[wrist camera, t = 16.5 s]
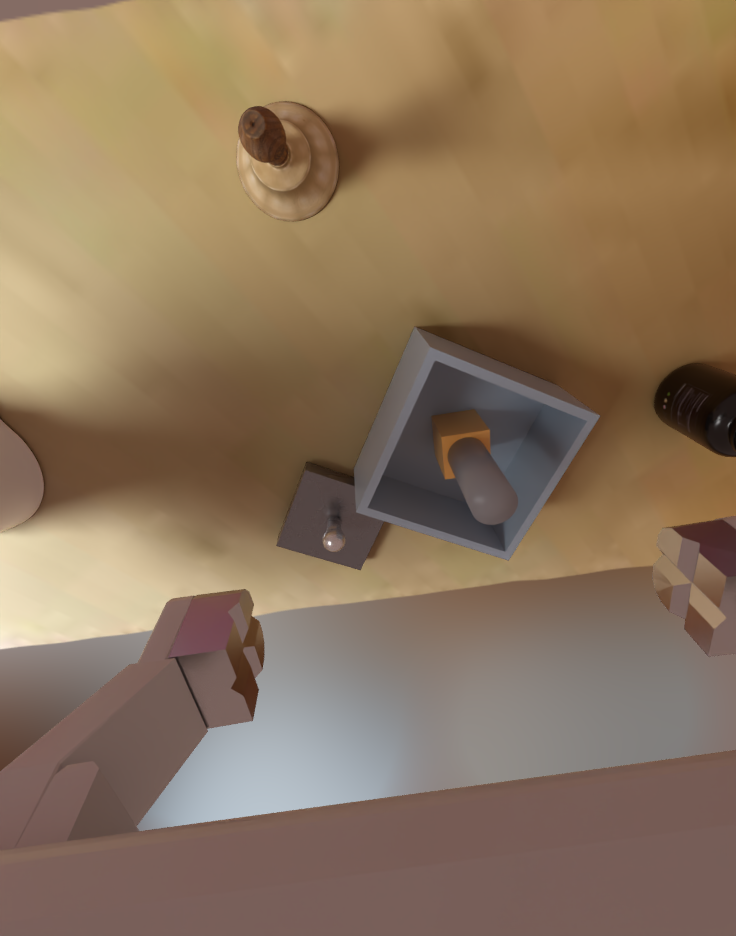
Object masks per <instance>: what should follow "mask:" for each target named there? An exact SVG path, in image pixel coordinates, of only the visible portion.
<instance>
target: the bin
mask: <svg viewBox="0 0 736 936" xmlns="http://www.w3.org/2000/svg"><path fill="white" fill-rule="evenodd" d="M472 409H475V410H476V412H477V413H478V414H479V416H480V417H481V419H482V420H483V421H484V423H485V424H486V425H487V427H488V428H489V429H490V451H491V456H492V458H493V459H494V461H495V462H496V464H497V465H498V467H499V468H500V470H501V471H502V473H503V474H504V476H505V477H506V479H507V480H508V482H509V483H510V485H511V486H512V488H513V489H514V491H515V492H516V494H517V497H518V506H517V509H516V511H515V513H514V514H513V515H512V516H511V517H510V518H509V519H508V520H506V521H504V522H502V523H500V524H496V525H487V524H483V523H481V522H479V521H477V520H476V519H475V518H474V516H473V514H472V512H471V510H470V508H469V506H468V504H467V501H466V499H465V497H464V495H463V493H462V491H461V488H460V486H459V484H458V482H457V480H456V478H452V479H446V480H445V478H444V476H443V473H442V471H441V469H440V466H439V464H438V461H437V459H436V457H435V452H434V441H433V430H432V419H431V416H433V415H439V414H446V413H452V412H459V411H465V410H472ZM599 417H600V415H598V414H597V413H596V412H594V411H593V410H591V409H590V408H589V407H587V406H586V405H584V404H583V403H582V402H580V401H579V400H577V399H576V398H575V397H573V396H572V395H570V394H569V393H568V392H566V391H565V390H563V389H562V388H561V387H559V386H558V385H556V384H553V383H551V382H548V381H546V380H543V379H541V378H539V377H536V376H534V375H531V374H529V373H526V372H524V371H522V370H519V369H517V368H514V367H512V366H509V365H507V364H504V363H502V362H500V361H497V360H495V359H492V358H490V357H487V356H485V355H483V354H480V353H478V352H475V351H473V350H470V349H468V348H466V347H463V346H461V345H458V344H456V343H453V342H451V341H449V340H446V339H444V338H441V337H439V336H436V335H434V334H432V333H429V332H427V331H424V330H422V329H419V328H417V327H414V329H413V331H412V334H411V336H410V338H409V341H408V343H407V346H406V348H405V350H404V353H403V355H402V357H401V360H400V362H399V364H398V367H397V369H396V371H395V374H394V376H393V378H392V381H391V383H390V385H389V388H388V390H387V392H386V395H385V397H384V399H383V402H382V404H381V406H380V409H379V411H378V413H377V416H376V418H375V420H374V423H373V425H372V427H371V430H370V432H369V434H368V437H367V439H366V441H365V444H364V446H363V448H362V451H361V453H360V455H359V458H358V460H357V462H356V465H355V467H354V481H355V501H356V512H357V513H360V514H363V515H366V516H369V517H372V518H376V519H379V520H382V521H385V522H388V523H391V524H395V525H398V526H401V527H404V528H407V529H410V530H414V531H417V532H420V533H423V534H426V535H429V536H433V537H436V538H439V539H442V540H445V541H448V542H452V543H455V544H458V545H461V546H464V547H467V548H471V549H474V550H477V551H480V552H483V553H486V554H490V555H493V556H496V557H499V558H502V559H505V560H509V559H510V558H511V556H512V554H513V553H514V551H515V550H516V548H517V547H518V545H519V543H520V542H521V540H522V539H523V537H524V536H525V534H526V532H527V531H528V529H529V528H530V526H531V524H532V523H533V521H534V520H535V518H536V517H537V515H538V513H539V512H540V510H541V509H542V507H543V506H544V504H545V502H546V501H547V499H548V498H549V496H550V495H551V493H552V491H553V490H554V488H555V487H556V485H557V483H558V482H559V480H560V479H561V477H562V476H563V474H564V472H565V471H566V469H567V468H568V466H569V465H570V463H571V461H572V460H573V458H574V457H575V455H576V454H577V452H578V450H579V449H580V447H581V446H582V444H583V443H584V441H585V439H586V438H587V436H588V435H589V433H590V431H591V430H592V428H593V427H594V425H595V424H596V422H597V420H598V419H599Z"/></svg>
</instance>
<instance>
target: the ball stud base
mask: <svg viewBox="0 0 736 936" xmlns="http://www.w3.org/2000/svg"><path fill="white" fill-rule="evenodd" d="M383 522H384V521H382V520H379V519H376V518H372V517H369V516H366V515H363V514H360V513H357V512H356V501H355V481H354V477H351V476H348V475H345V474H342V473H339V472H336V471H333V470H330V469H327V468H324V467H321V466H318V465H315V464H312V463H309V462H306V465H305V467H304V470H303V473H302V475H301V478H300V481H299V483H298V486H297V489H296V491H295V494H294V496H293V499H292V502H291V504H290V507H289V510H288V512H287V515H286V518H285V520H284V523H283V525H282V528H281V531H280V533H279V536H278V541H277V546H279V547H282V548H286V549H289V550H292V551H296V552H299V553H303V554H306V555H310V556H313V557H317V558H320V559H323V560H327V561H330V562H334V563H337V564H341V565H344V566H348V567H351V568H355V569H358V570H361V568H362V566H363V564H364V562H365V560H366V558H367V556H368V553H369V551H370V549H371V547H372V545H373V543H374V541H375V539H376V537H377V535H378V533H379V531H380V529H381V526H382V524H383Z"/></svg>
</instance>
